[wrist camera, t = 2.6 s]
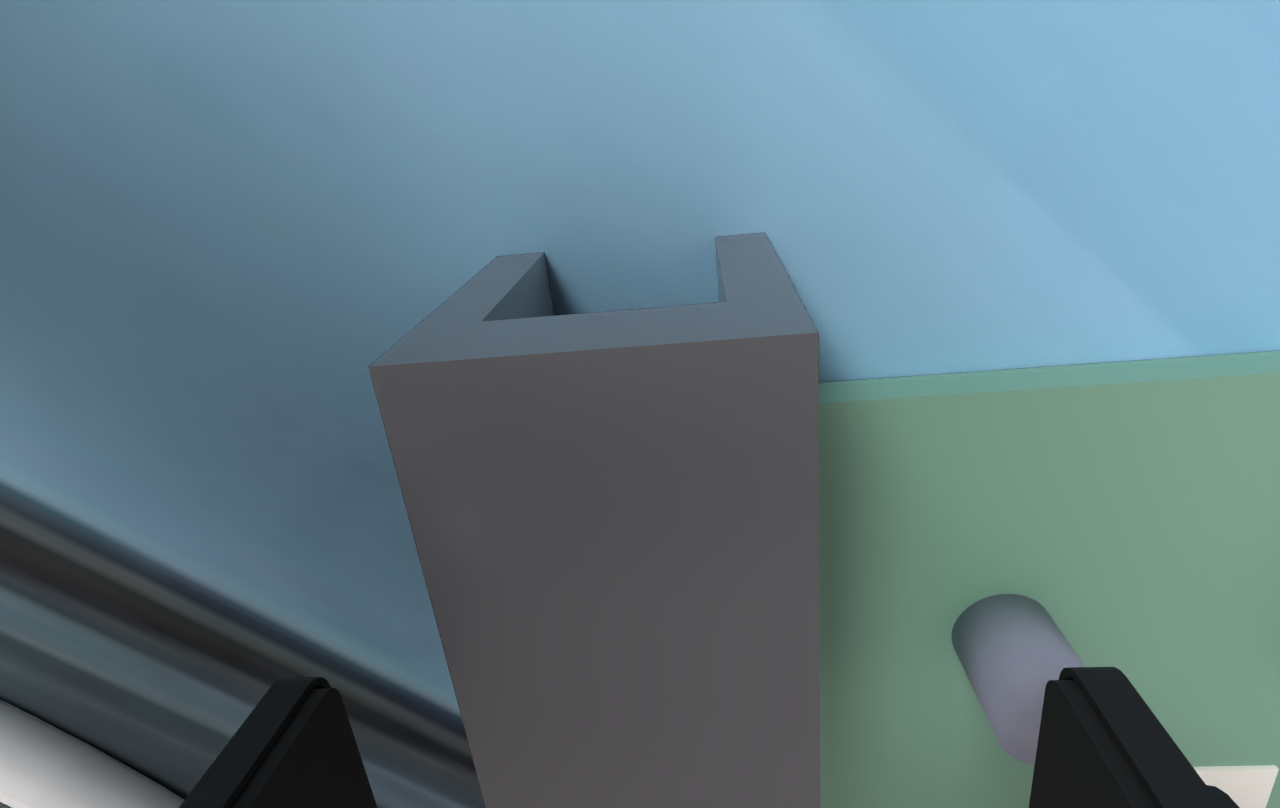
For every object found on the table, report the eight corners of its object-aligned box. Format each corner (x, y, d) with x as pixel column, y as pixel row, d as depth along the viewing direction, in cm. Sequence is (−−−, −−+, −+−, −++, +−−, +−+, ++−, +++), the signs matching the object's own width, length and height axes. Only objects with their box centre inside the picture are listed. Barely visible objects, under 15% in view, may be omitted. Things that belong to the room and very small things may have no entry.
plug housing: (498, 255, 14) (368, 366, 8) (764, 231, 13) (817, 332, 8) (571, 663, 18) (516, 925, 12) (778, 657, 17) (820, 926, 12)
